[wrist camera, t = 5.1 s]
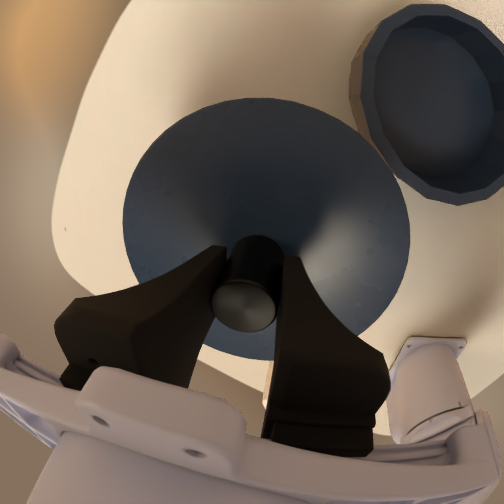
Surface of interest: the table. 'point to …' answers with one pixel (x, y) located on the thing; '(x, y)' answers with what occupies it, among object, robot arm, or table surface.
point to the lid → (269, 215)
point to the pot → (433, 101)
